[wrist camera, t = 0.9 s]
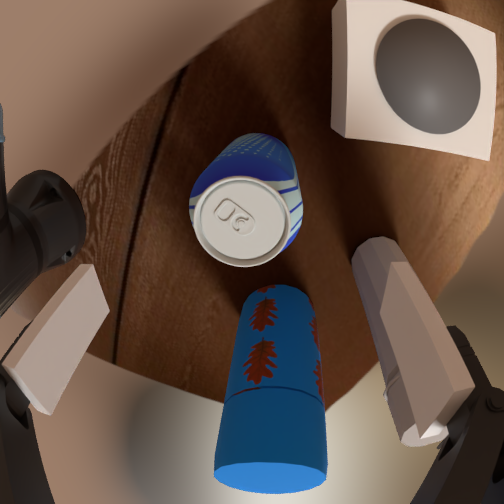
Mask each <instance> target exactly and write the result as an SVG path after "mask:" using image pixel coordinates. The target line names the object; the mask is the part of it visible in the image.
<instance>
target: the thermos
mask: <svg viewBox="0 0 504 504" xmlns="http://www.w3.org/2000/svg"><path fill="white" fill-rule="evenodd" d="M327 461H328V460H327V441H326V423H325V408H324V394H323V382H322V370H321V359H320V349H319V339H318V330H317V323H316V317H315V312H314V307H313V303H312V302H311V300H310V299H309V297H308V296H307V295H306V294H305V293H303V292H302V291H300V290H299V289H297V288H294V287H291V286H287V285H269V286H266V287H262V288H259V289H257V290H256V291H255V292H253V293H252V294H250V295H249V296H248V298H247V300H246V301H245V303H244V305H243V308H242V312H241V316H240V319H239V324H238V330H237V335H236V341H235V346H234V352H233V357H232V363H231V368H230V374H229V379H228V385H227V390H226V396H225V401H224V407H223V413H222V418H221V423H220V429H219V435H218V440H217V446H216V451H215V461H214V477H215V478H216V479H217V480H218V481H219V482H221V483H223V484H225V485H227V486H229V487H232V488H236V489H239V490H243V491H248V492H255V493H266V494H281V493H282V494H283V493H294V492H299V491H304V490H309V489H312V488H314V487H316V486H319V485H321V484H322V483H323V482H324V481H325V480H326V475H327V465H328V462H327Z"/></svg>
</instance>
